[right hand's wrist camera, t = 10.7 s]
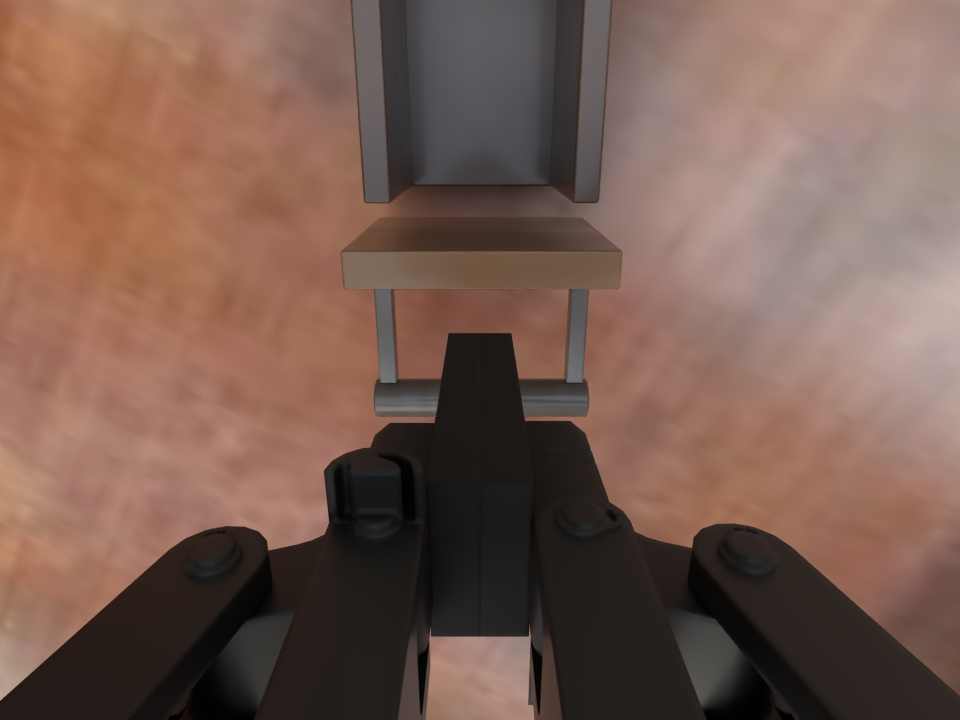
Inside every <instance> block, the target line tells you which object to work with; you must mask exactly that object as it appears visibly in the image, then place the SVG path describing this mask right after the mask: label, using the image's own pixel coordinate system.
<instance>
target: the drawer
mask: <svg viewBox="0 0 960 720" xmlns="http://www.w3.org/2000/svg"><path fill="white" fill-rule="evenodd" d="M612 2H613V0H351V14H352V29H353V44H354V58H355V73H356V88H357V103H358V118H359V133H360V148H361V163H362V177H363V192H364V202H365V203H390V202H392V201H393V200H394V199H395V198H397V197H398V196H399V195H401V194H402V193H403V192H405V191H406V190H407V189H408V188H410V187H411V186H552V187H553V188H555V189H556V190H557V191H559V192H560V193H561V194H563V195H564V196H565V197H567V198H568V199H569V200H571V201H572V202H574V203H597V202H598V201H599V193H600V179H601V164H602V149H603V134H604V120H605V105H606V90H607V75H608V61H609V46H610V31H611V16H612ZM341 262H342V274H343V286H344V289H374V295H375V310H376V326H377V341H378V357H379V372H380V379H377V380H376V383H375V388H374V409H375V414H376V416H377V417H436V412H437V405H438V399H439V392H440V386H441V380H442V379H398V357H397V338H396V319H395V300H394V289H569V299H568V317H567V336H566V355H565V374H564V377H565V379H518V380H519V386H520V392H521V399H522V405H523V412H524V417H585V416H587V413H588V408H589V389H588V383H587V381H586V379H583V370H584V355H585V340H586V324H587V309H588V294H589V289H619V287H620V277H621V265H622V251H621V250H620V249H619V248H618V247H617V246H615V245H614V244H613V243H612V242H611V241H609V240H608V239H607V238H606V237H605V236H603V235H602V234H601V233H600V232H599V231H597V230H596V229H595V228H594V227H593V226H591V225H590V224H589V223H588V222H587V221H585V220H584V219H583V218H380V219H378V220H377V221H376V222H375V223H374V224H373V225H371V226H370V227H369V228H368V229H367V230H366V231H364V232H363V233H362V234H361V235H360V236H358V237H357V238H356V239H355V240H354V241H353V242H351V243H350V244H349V245H348V246H347V247H346V248H344V249H343V250H342V251H341Z"/></svg>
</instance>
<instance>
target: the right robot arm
mask: <svg viewBox="0 0 960 720" xmlns="http://www.w3.org/2000/svg"><path fill="white" fill-rule="evenodd" d="M324 476H325V486H326V495H327V505H328V514H329V525H328V527H327V530H326V533H325V535H323V536H321V537H318V538H316V539H314V540H312V541H308V542H305V543H301V544H298V545H293V546H288V547H284V548H279V549H274V550H269V551H268V545H267V540H266V539H265V538H264V537H263V536H262V535H261V534H260V533H259V532H258V531H255V530H252V529H249V528H246V527H233V526H225V527H219V528H213V529H209V530H205V531H203V532H200V533H198V534H195V535H193V536H191V537H188V538H186V539H184V540H183V541H181V542H180V543H178V544H177V545H176V546H174V547H173V548H171V549H170V550H168V551H167V552H166V553H165V554H164V555H163V556H162V557H161V558H160V559H158V560H157V561H156V562H155V563H154V564H153V565H152V566H151V567H149V568H148V569H147V570H146V571H145V572H144V573H143V574H142V575H141V576H139V577H138V578H137V579H136V580H135V581H134V582H133V583H132V584H130V585H129V586H128V587H127V588H126V589H125V590H124V591H123V592H121V593H120V594H119V595H118V596H117V597H116V598H115V599H114V600H113V601H111V602H110V603H109V604H108V605H107V606H106V607H105V608H104V609H102V610H101V611H100V612H99V613H98V614H97V615H96V616H95V617H94V618H92V619H91V620H90V621H89V622H88V623H87V624H86V625H85V626H83V627H82V628H81V629H80V630H79V631H78V632H77V633H76V634H75V635H73V636H72V637H71V638H70V639H69V640H68V641H67V642H66V643H64V644H63V645H62V646H61V647H60V648H59V649H58V650H57V651H55V652H54V653H53V654H52V655H51V656H50V657H49V658H48V659H47V660H45V661H44V662H43V663H42V664H41V665H40V666H39V667H38V668H36V669H35V670H34V671H33V672H32V673H31V674H30V675H29V676H28V677H26V678H25V679H24V680H23V681H22V682H21V683H20V684H19V685H17V686H16V687H15V688H14V689H13V690H12V691H11V692H10V693H9V694H7V695H6V696H5V697H4V698H3V699H2V700H1V701H0V720H425V718H426V707H427V696H428V685H429V674H430V648H429V636H430V626H431V636H529V623H530V633H531V648H530V673H529V699H528V705H533V706H534V718H535V720H960V696H959V695H958V694H957V693H955V692H954V691H953V690H952V689H951V688H950V687H949V686H948V685H946V684H945V683H944V682H943V681H942V680H941V679H940V678H939V677H937V676H936V675H935V674H934V673H933V672H932V671H931V670H930V669H928V668H927V667H926V666H925V665H924V664H923V663H922V662H920V661H919V660H918V659H917V658H916V657H915V656H914V655H913V654H911V653H910V652H909V651H908V650H907V649H906V648H905V647H904V646H902V645H901V644H900V643H899V642H898V641H897V640H896V639H895V638H893V637H892V636H891V635H890V634H889V633H888V632H887V631H886V630H884V629H883V628H882V627H881V626H880V625H879V624H878V623H877V622H875V621H874V620H873V619H872V618H871V617H870V616H869V615H867V614H866V613H865V612H864V611H863V610H862V609H861V608H860V607H858V606H857V605H856V604H855V603H854V602H853V601H852V600H851V599H849V598H848V597H847V596H846V595H845V594H844V593H843V592H842V591H840V590H839V589H838V588H837V587H836V586H835V585H834V584H833V583H831V582H830V581H829V580H828V579H827V578H826V577H825V576H824V575H822V574H821V573H820V572H819V571H818V570H817V569H816V568H814V567H813V566H812V565H811V564H810V563H809V562H808V561H807V560H805V559H804V558H803V557H802V556H801V555H800V554H799V553H798V552H796V551H795V550H794V549H793V548H792V547H791V546H789V545H788V544H786V543H785V542H783V541H782V540H780V539H779V538H777V537H776V536H774V535H772V534H769V533H767V532H764V531H762V530H760V529H757V528H754V527H750V526H744V525H739V524H715V525H712V526H709V527H706V528H703V529H701V530H700V531H699V533H698V534H697V535H696V536H695V537H694V538H693V545H692V548H689V547H684V546H679V545H674V544H670V543H665V542H661V541H657V540H654V539H650V538H647V537H645V536H643V535H641V534H638V533H636V532H634V529H633V527H632V524H631V522H630V520H629V519H628V517H627V516H626V515H625V513H624V512H623V511H622V510H621V509H619V508H618V507H616V506H615V505H613V504H612V503H610V502H609V500H608V497H607V494H606V491H605V488H604V486H603V483H602V480H601V477H600V474H599V471H598V468H597V466H596V463H595V460H594V457H593V454H592V451H590V446H589V443H588V440H587V437H586V434H585V433H584V432H583V431H582V430H580V429H579V428H578V427H577V426H576V425H574V424H573V423H572V422H571V421H525V418H524V412H523V405H522V399H521V392H520V386H519V380H518V373H517V367H516V360H515V354H514V348H513V341H512V335H511V333H449V335H448V341H447V348H446V354H445V360H444V367H443V373H442V380H441V386H440V392H439V399H438V405H437V412H436V418H435V423H389V424H388V425H387V426H386V427H384V428H383V429H382V430H381V431H380V432H378V433H377V434H376V435H375V437H374V440H373V442H372V445H371V448H362V449H359V450H355V451H352V452H348V453H345V454H344V455H342V456H340V457H338V458H337V459H335V460H333V461H332V462H331V463H330V464H329V465H328V466H327V468H326V469H325V470H324Z"/></svg>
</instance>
